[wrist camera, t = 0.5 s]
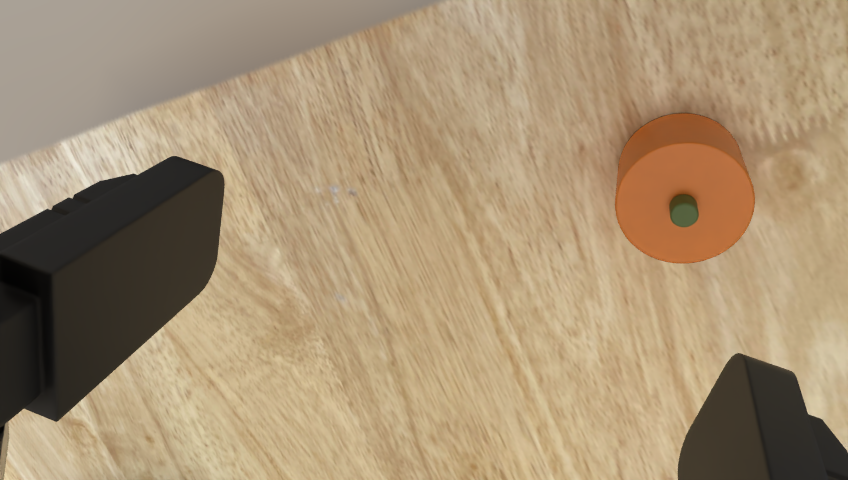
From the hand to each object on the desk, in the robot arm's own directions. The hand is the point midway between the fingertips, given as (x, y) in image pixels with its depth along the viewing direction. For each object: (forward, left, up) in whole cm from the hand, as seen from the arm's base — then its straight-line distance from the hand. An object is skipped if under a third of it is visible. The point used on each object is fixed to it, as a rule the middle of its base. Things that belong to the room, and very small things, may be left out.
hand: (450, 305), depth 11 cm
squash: (0, +5, -15) cm, 16 cm away
